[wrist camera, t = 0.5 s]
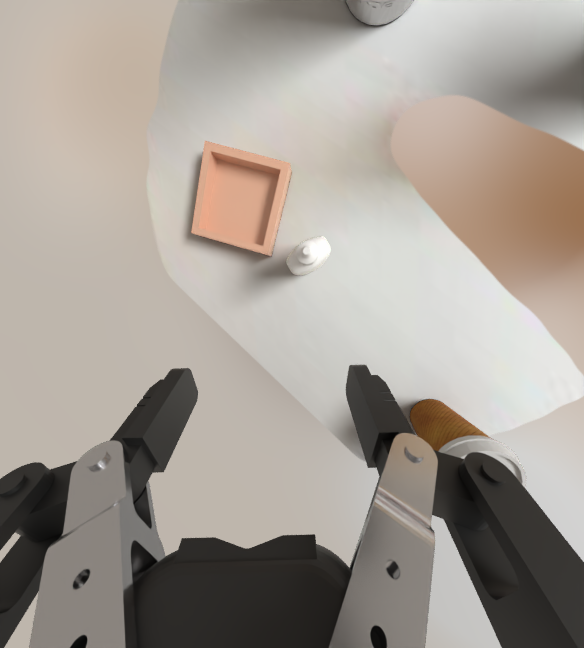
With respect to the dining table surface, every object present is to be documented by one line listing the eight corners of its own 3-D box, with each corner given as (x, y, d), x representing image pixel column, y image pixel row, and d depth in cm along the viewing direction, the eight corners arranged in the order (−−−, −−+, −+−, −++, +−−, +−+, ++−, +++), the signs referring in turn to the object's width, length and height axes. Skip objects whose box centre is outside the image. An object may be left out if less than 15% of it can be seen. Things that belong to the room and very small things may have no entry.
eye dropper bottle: (291, 246, 32) (277, 229, 21) (328, 244, 32) (335, 225, 20) (292, 275, 33) (279, 274, 21) (328, 274, 32) (335, 272, 21)
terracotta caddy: (213, 151, 31) (204, 140, 28) (292, 172, 30) (289, 163, 28) (200, 236, 33) (191, 232, 31) (271, 256, 33) (267, 254, 30)
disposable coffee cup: (407, 444, 37) (448, 520, 26) (393, 398, 36) (431, 456, 24) (464, 432, 36) (537, 508, 24) (453, 383, 34) (524, 438, 22)
